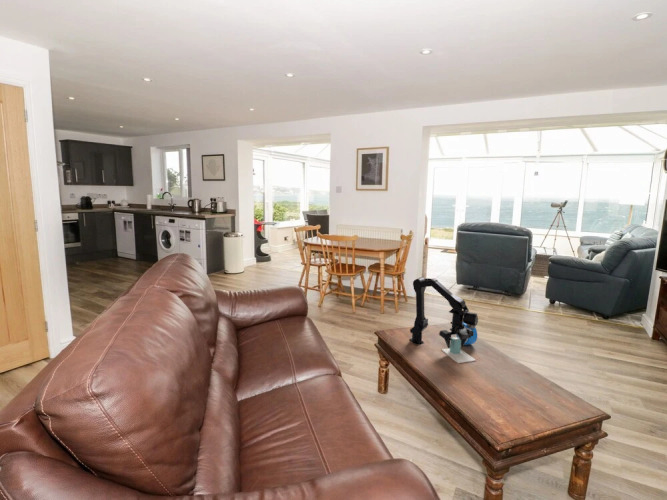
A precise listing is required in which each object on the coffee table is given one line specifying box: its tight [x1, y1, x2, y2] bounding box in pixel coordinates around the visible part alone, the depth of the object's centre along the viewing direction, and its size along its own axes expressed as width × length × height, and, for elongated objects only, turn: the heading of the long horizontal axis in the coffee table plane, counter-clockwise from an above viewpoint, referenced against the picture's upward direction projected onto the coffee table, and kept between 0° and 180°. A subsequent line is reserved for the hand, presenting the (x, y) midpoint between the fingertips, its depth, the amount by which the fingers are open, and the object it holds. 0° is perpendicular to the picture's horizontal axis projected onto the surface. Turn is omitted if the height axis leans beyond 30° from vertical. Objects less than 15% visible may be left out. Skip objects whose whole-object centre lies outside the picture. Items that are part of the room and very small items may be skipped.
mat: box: [441, 347, 476, 364], centre depth 201 cm, size 16×11×1 cm
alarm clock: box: [455, 321, 478, 346], centre depth 215 cm, size 13×6×15 cm, turn 17°
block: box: [450, 336, 462, 354], centre depth 203 cm, size 4×4×8 cm
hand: (455, 347), depth 203 cm, fingers open, 8 cm apart
